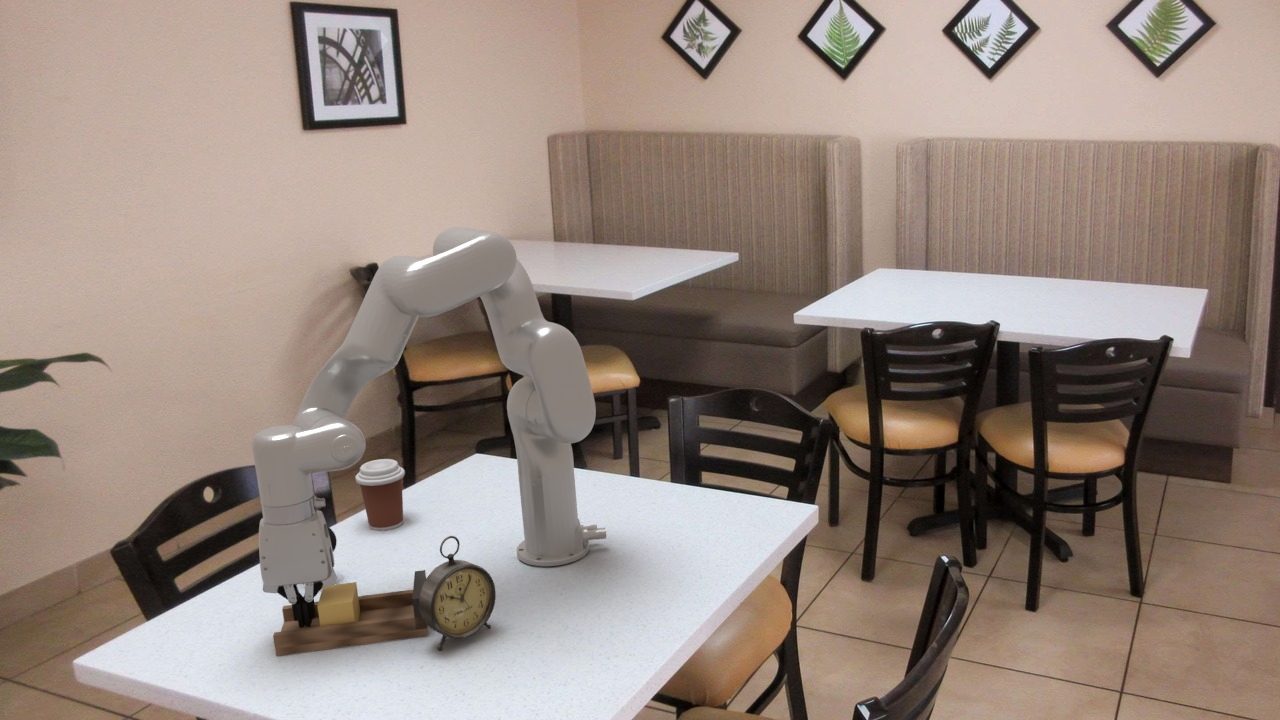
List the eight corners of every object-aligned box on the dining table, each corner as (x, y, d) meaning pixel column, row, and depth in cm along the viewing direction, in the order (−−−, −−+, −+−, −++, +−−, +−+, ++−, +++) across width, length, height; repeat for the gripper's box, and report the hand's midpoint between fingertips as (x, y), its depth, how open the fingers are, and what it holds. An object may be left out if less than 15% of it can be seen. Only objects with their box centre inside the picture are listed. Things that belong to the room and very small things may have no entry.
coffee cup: (420, 519, 210) (413, 460, 207) (386, 537, 202) (378, 475, 199) (386, 512, 214) (379, 454, 211) (351, 529, 207) (343, 469, 204)
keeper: (360, 611, 170) (356, 582, 169) (356, 632, 163) (352, 601, 162) (327, 615, 169) (323, 586, 168) (321, 637, 162) (317, 606, 161)
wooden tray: (429, 606, 173) (425, 570, 172) (427, 635, 163) (423, 597, 162) (286, 624, 170) (280, 588, 168) (276, 656, 160) (270, 617, 159)
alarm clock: (438, 658, 157) (425, 553, 153) (419, 645, 161) (406, 543, 157) (501, 630, 164) (491, 529, 160) (481, 619, 168) (470, 520, 164)
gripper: (343, 495, 165) (358, 606, 170) (241, 506, 163) (259, 618, 168) (338, 513, 158) (354, 628, 163) (231, 525, 156) (250, 641, 160)
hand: (306, 623), depth 165 cm, fingers closed
